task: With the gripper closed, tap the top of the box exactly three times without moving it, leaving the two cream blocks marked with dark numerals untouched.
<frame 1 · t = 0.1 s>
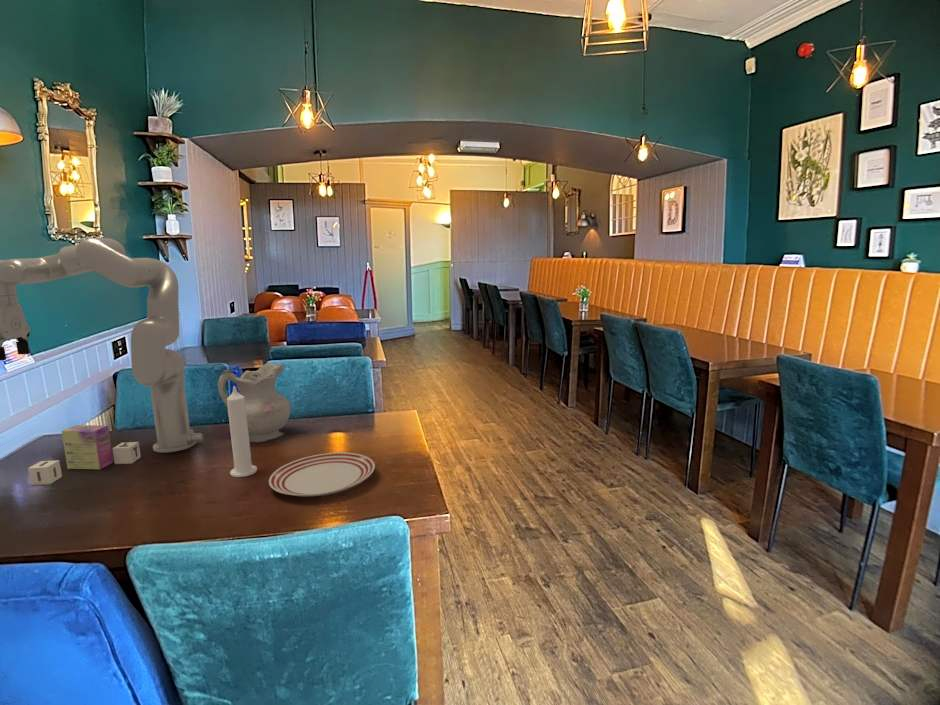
hand: (12, 357, 171), 31 cm above the table, fingers open, 9 cm apart
box: (91, 466, 164), on the table
candle: (243, 472, 156), on the table
dinner plate: (323, 482, 149), on the table
block seven: (128, 460, 168), on the table
ceramic pitcher: (259, 438, 185), on the table
block one: (46, 481, 154), on the table
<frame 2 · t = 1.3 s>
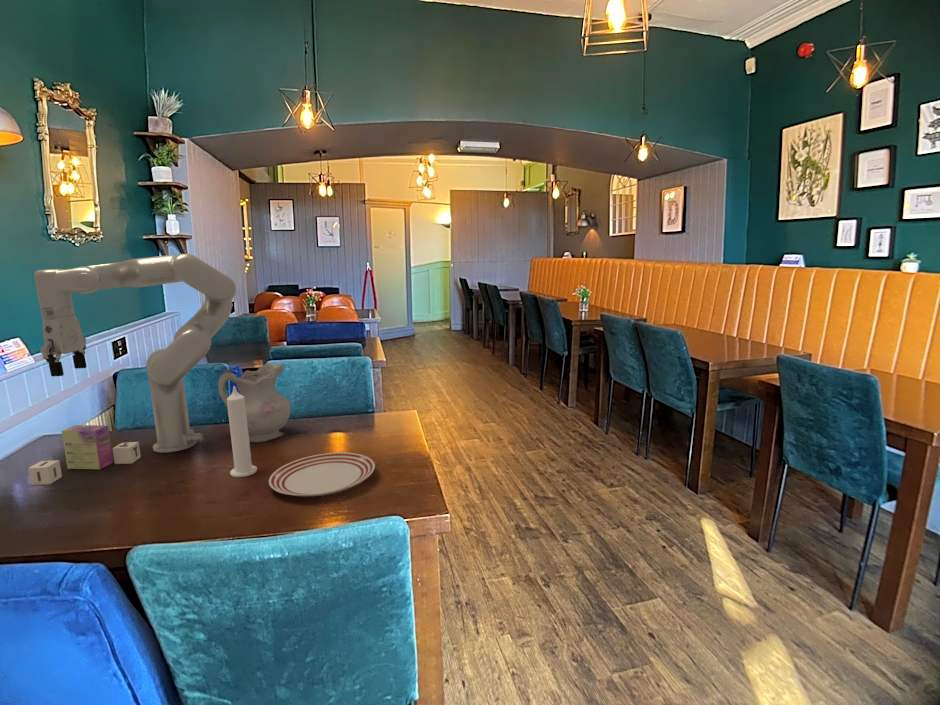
hand: (69, 371, 160), 28 cm above the table, fingers open, 9 cm apart
nothing on the table moved.
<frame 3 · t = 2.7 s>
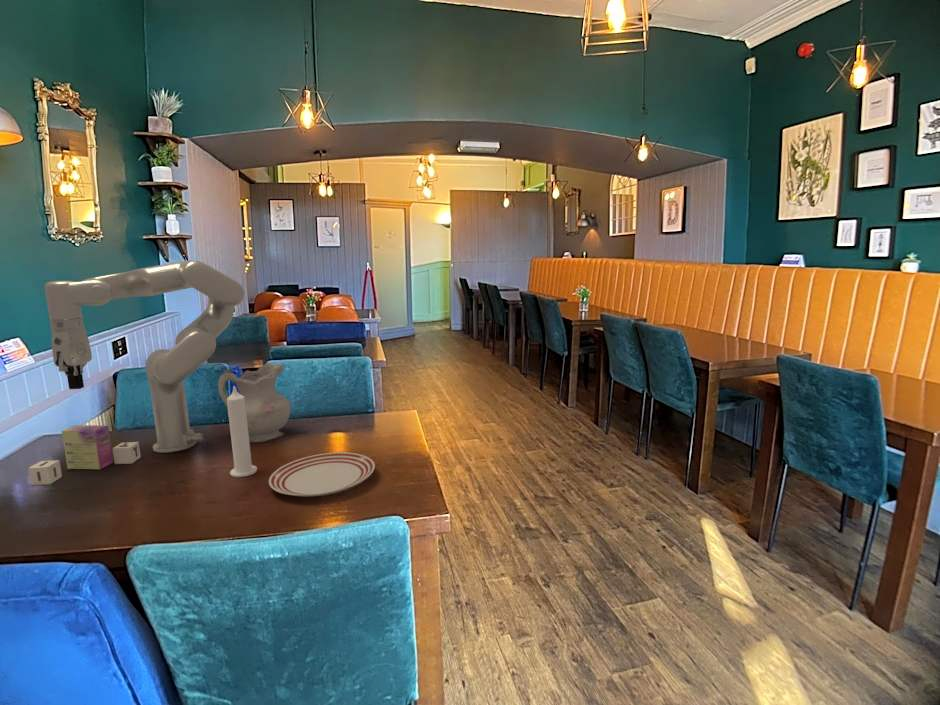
hand: (76, 388, 160), 24 cm above the table, fingers closed
nothing on the table moved.
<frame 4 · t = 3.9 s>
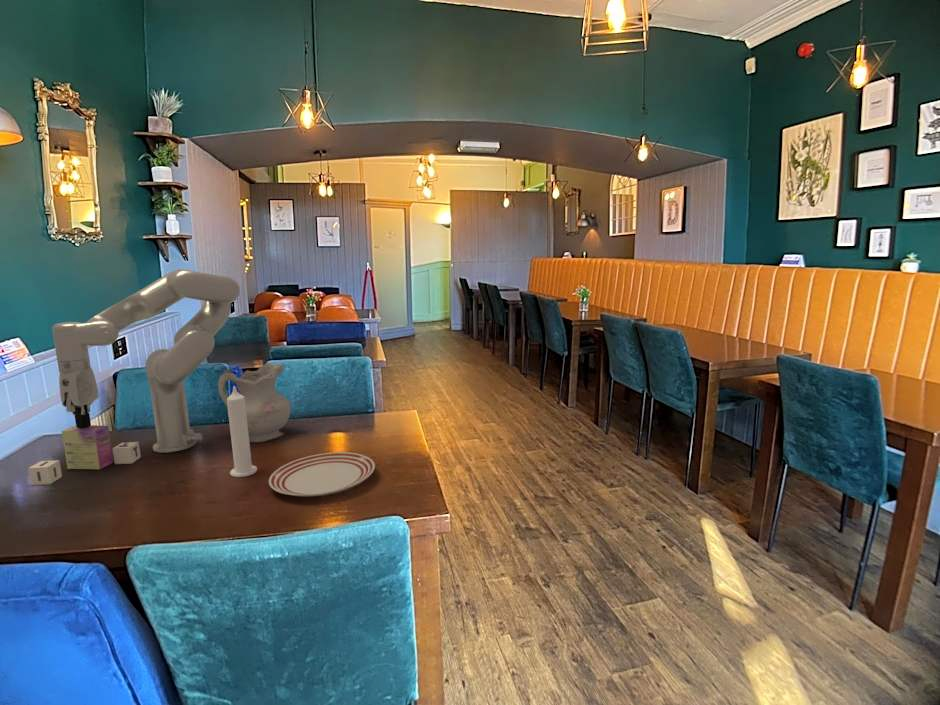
hand: (83, 426, 162), 12 cm above the table, fingers closed
nothing on the table moved.
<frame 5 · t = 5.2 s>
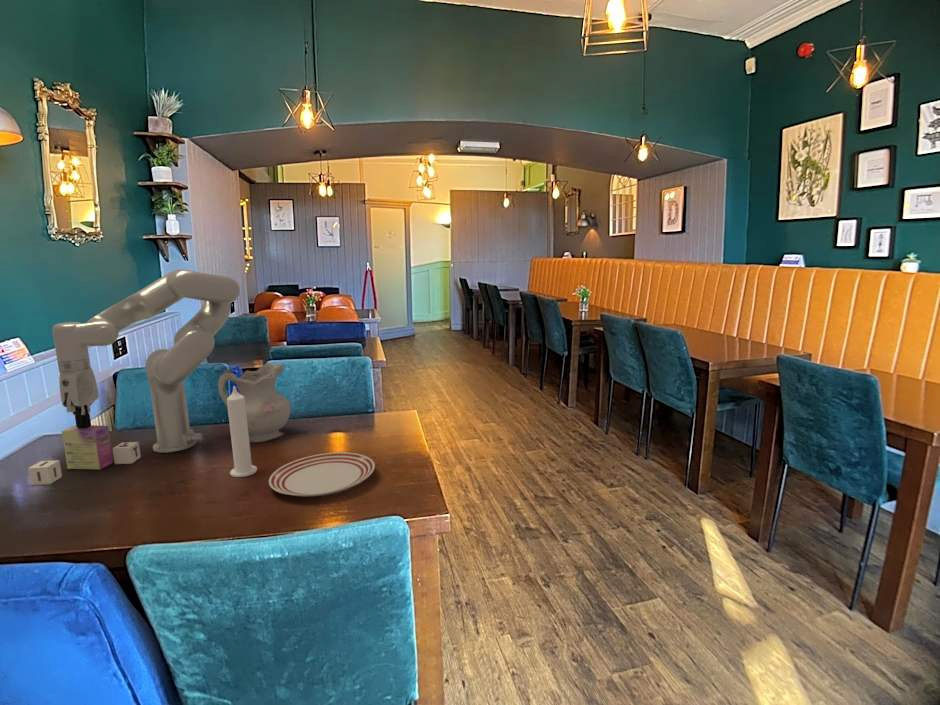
hand: (84, 427, 162), 12 cm above the table, fingers closed
nothing on the table moved.
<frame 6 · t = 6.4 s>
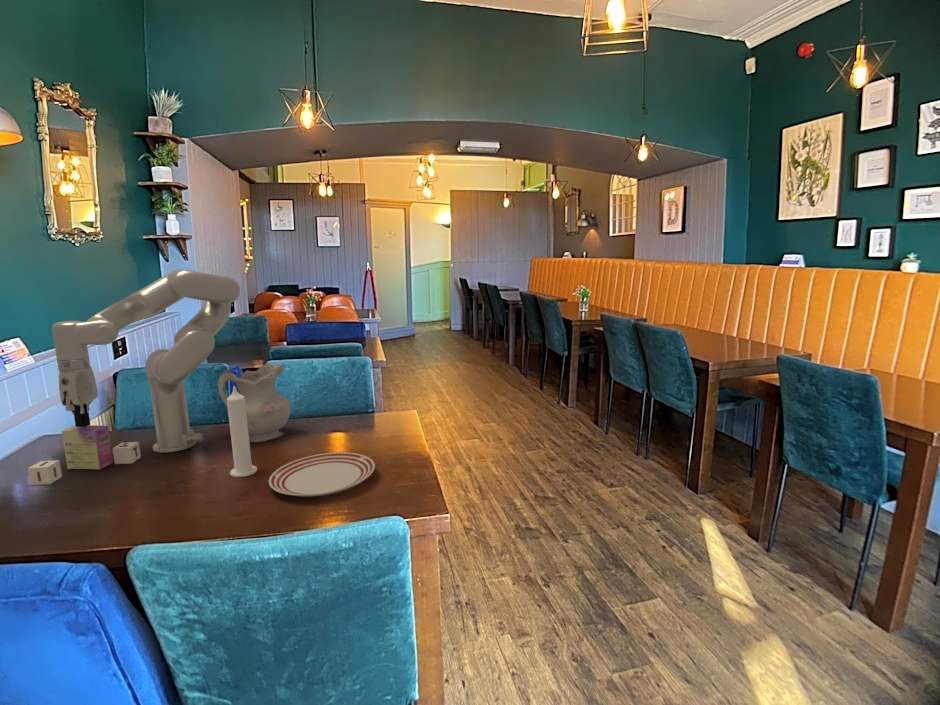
hand: (83, 425, 162), 12 cm above the table, fingers closed
nothing on the table moved.
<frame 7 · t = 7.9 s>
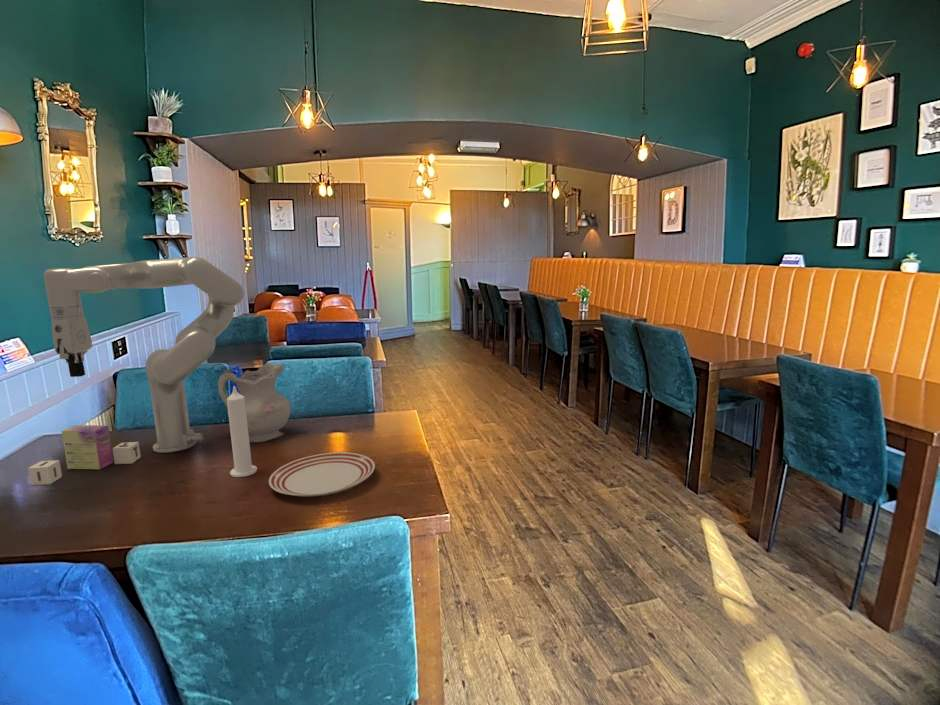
hand: (77, 375, 160), 27 cm above the table, fingers closed
nothing on the table moved.
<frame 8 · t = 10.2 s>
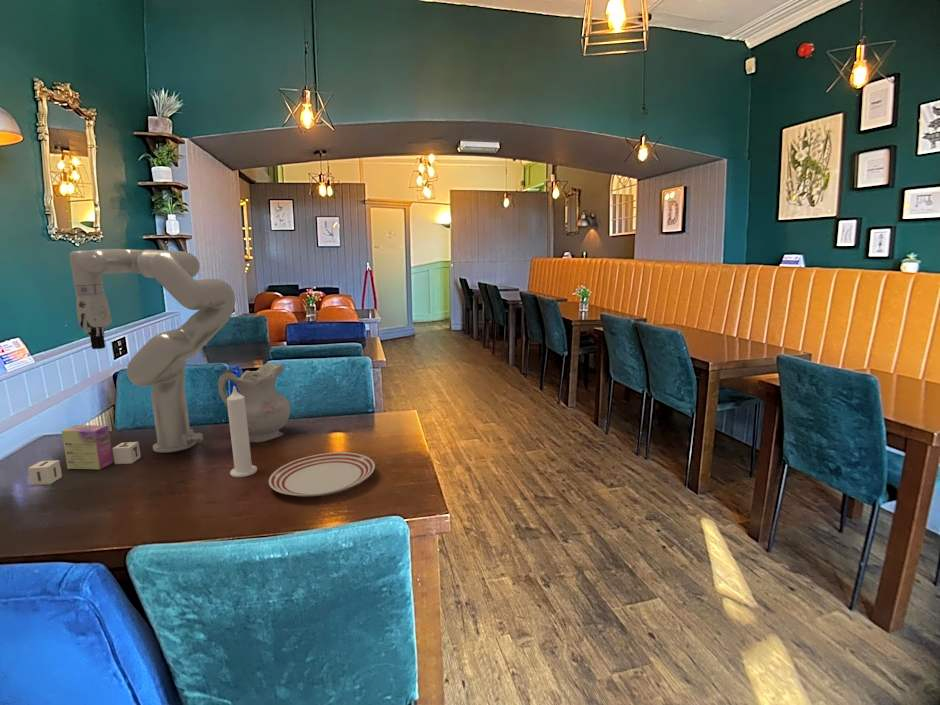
hand: (98, 348, 177), 32 cm above the table, fingers closed
nothing on the table moved.
at the end: box moved 0.3 cm from its start; box tilted 0°; block seven moved 0.1 cm from its start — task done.
